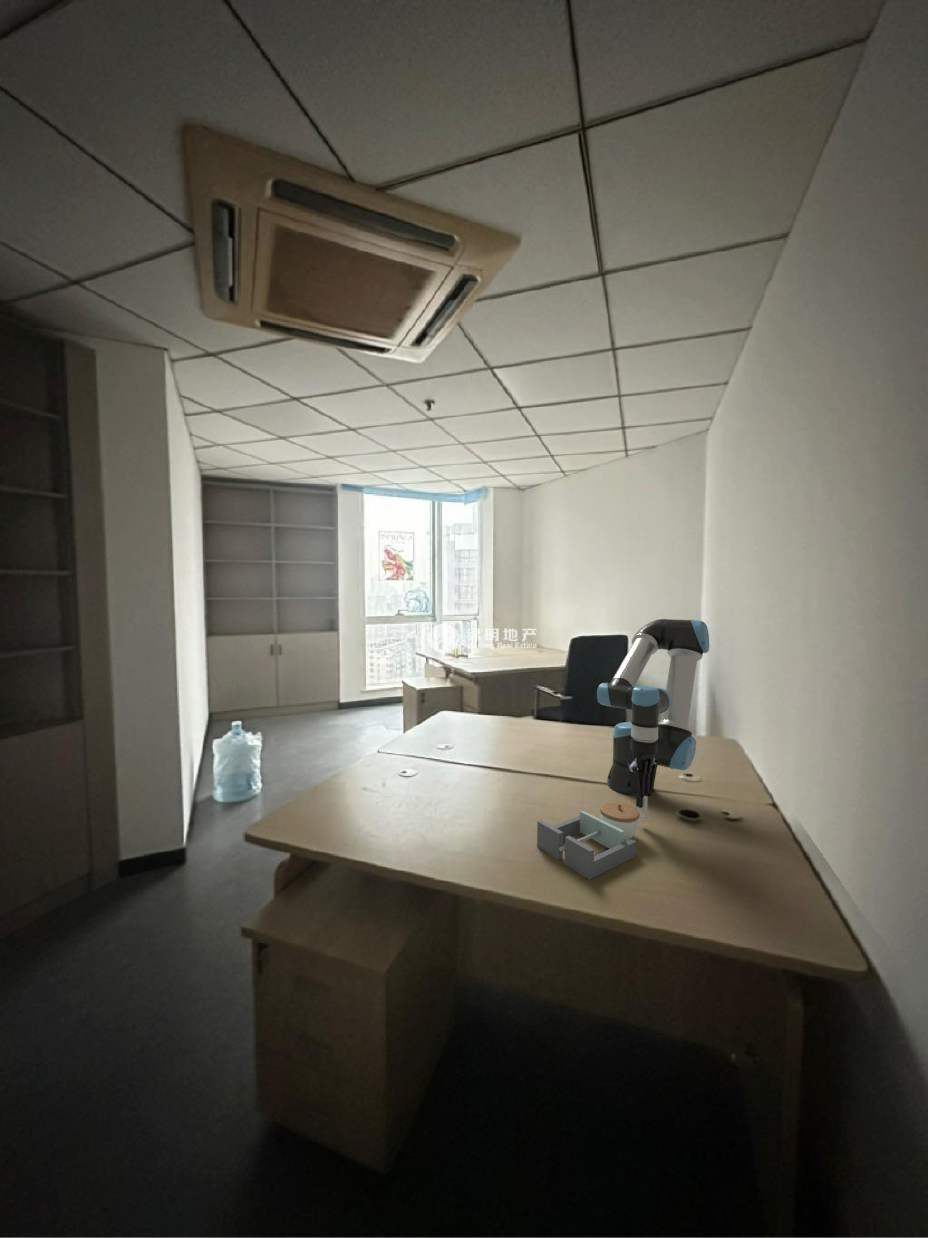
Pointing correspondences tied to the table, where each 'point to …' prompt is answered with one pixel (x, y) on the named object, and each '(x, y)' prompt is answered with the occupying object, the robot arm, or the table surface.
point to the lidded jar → (621, 817)
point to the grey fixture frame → (580, 849)
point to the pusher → (599, 831)
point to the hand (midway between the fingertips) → (641, 816)
